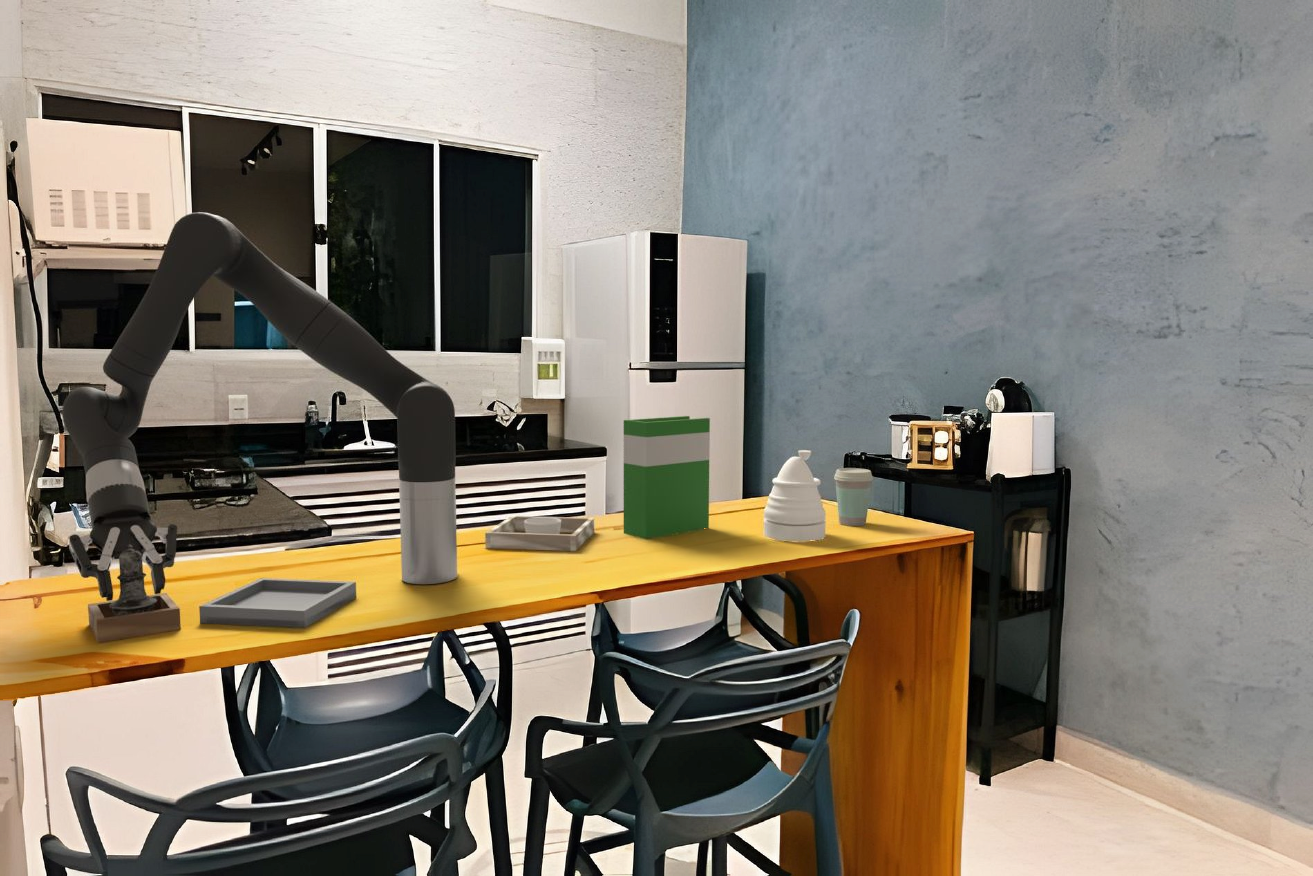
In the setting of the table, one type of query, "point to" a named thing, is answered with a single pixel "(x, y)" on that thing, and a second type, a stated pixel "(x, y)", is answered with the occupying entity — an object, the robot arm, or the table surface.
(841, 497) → the coffee cup
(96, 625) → the collar
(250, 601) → the tray
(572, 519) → the grey wooden tray
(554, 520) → the light grey bowl
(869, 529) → the table surface
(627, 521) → the green cereal box
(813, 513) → the honey pot
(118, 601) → the grey stone finial
